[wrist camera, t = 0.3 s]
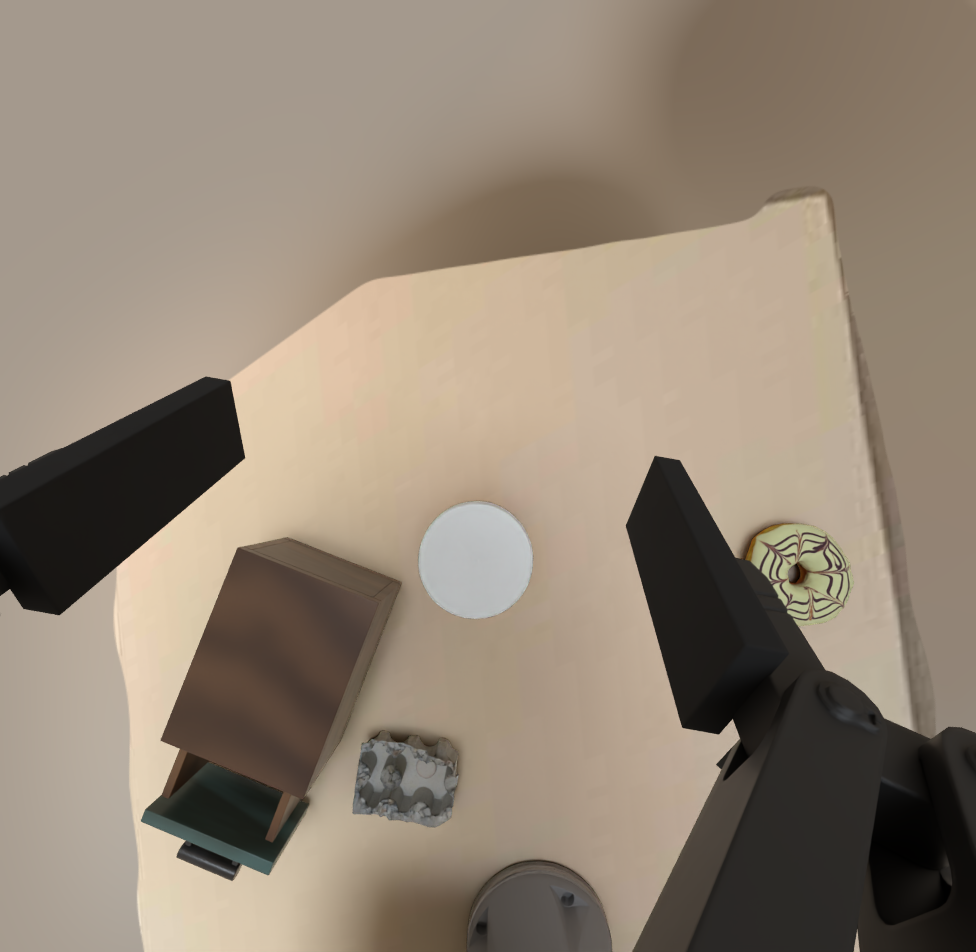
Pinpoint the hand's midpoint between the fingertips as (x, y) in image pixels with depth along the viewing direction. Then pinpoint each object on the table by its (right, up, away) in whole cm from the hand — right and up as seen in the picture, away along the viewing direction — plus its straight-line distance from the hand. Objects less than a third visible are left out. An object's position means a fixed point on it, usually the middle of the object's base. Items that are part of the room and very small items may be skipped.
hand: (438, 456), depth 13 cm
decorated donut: (+35, -11, +34) cm, 50 cm away
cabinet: (-18, -19, +35) cm, 44 cm away
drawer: (-22, -29, +33) cm, 50 cm away
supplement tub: (+1, -8, +35) cm, 36 cm away
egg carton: (-7, -33, +34) cm, 48 cm away
